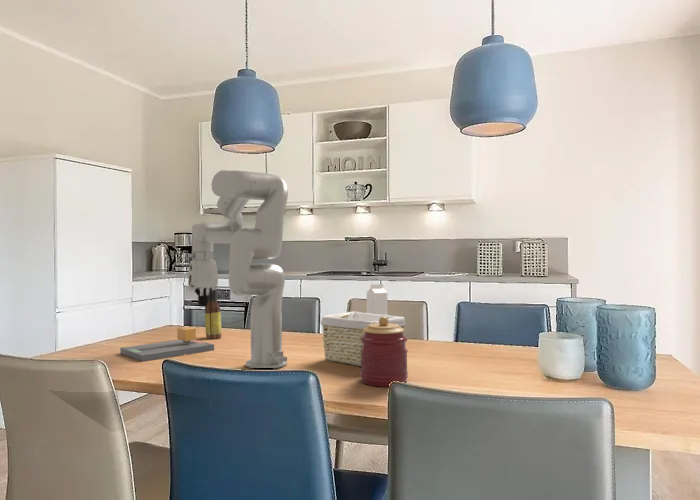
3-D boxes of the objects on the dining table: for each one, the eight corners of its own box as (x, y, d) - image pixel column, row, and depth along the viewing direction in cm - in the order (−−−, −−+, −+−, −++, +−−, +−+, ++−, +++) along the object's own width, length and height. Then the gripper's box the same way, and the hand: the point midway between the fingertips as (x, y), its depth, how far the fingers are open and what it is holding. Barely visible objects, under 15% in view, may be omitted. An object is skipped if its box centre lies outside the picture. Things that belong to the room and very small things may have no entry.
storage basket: (319, 359, 170) (318, 314, 170) (353, 352, 182) (352, 310, 181) (374, 371, 153) (374, 321, 153) (407, 362, 165) (407, 316, 165)
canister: (404, 375, 149) (404, 313, 149) (411, 387, 136) (411, 319, 136) (359, 375, 148) (358, 313, 148) (361, 387, 135) (361, 320, 135)
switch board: (214, 350, 186) (214, 344, 186) (142, 361, 168) (142, 355, 168) (189, 343, 199) (189, 338, 199) (120, 353, 180) (120, 347, 180)
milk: (366, 339, 207) (366, 284, 207) (379, 338, 210) (378, 283, 210) (375, 341, 201) (374, 284, 201) (388, 340, 205) (387, 284, 205)
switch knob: (195, 342, 187) (195, 328, 187) (185, 344, 185) (185, 329, 185) (187, 340, 192) (187, 326, 192) (177, 342, 189) (177, 328, 189)
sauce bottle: (223, 336, 214) (223, 288, 214) (218, 339, 208) (218, 289, 208) (208, 336, 215) (208, 288, 215) (202, 339, 209) (202, 289, 209)
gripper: (189, 257, 185) (189, 308, 185) (225, 256, 195) (225, 305, 195) (179, 257, 190) (179, 307, 190) (215, 256, 201) (215, 303, 201)
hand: (202, 306), depth 193 cm, fingers closed
